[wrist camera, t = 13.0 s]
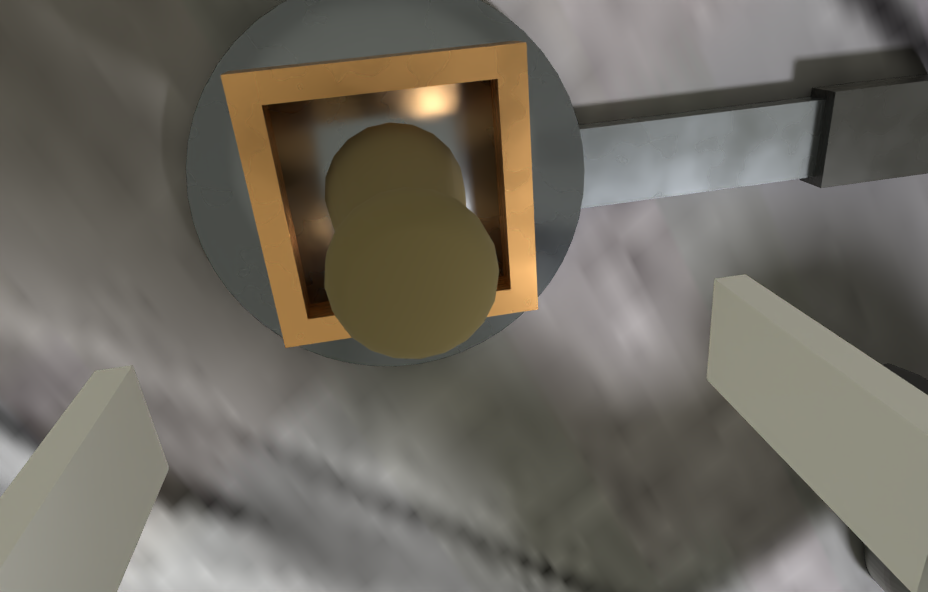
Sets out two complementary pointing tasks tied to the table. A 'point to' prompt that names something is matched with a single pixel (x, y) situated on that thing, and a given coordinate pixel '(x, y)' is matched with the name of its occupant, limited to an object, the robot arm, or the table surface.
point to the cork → (405, 245)
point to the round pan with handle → (477, 148)
